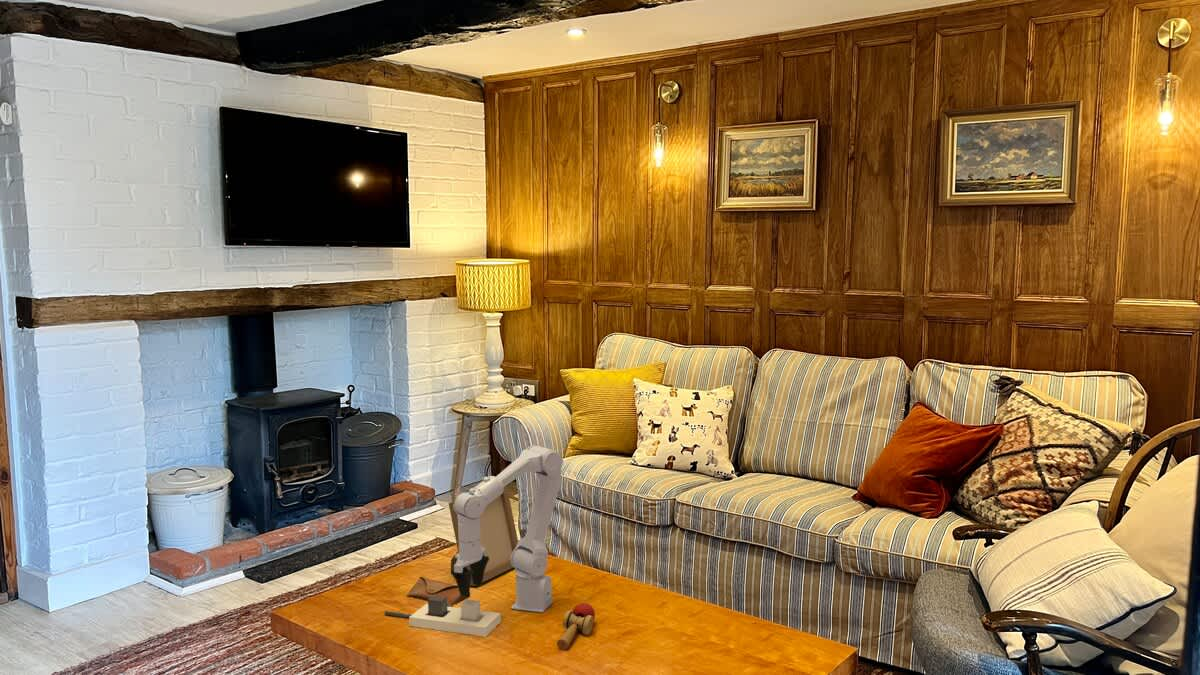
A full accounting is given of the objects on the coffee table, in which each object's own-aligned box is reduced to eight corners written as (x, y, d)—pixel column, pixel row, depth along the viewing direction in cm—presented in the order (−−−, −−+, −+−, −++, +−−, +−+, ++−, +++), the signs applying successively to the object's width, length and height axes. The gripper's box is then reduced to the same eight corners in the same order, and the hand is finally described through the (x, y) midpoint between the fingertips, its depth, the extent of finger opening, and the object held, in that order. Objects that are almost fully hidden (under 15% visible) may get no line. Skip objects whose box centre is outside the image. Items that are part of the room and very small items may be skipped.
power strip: (500, 622, 232) (500, 598, 231) (485, 636, 223) (485, 612, 223) (394, 608, 242) (393, 585, 241) (376, 621, 233) (375, 597, 233)
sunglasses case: (401, 596, 250) (408, 572, 252) (415, 600, 256) (422, 577, 258) (452, 607, 242) (459, 583, 244) (466, 612, 247) (472, 588, 250)
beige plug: (480, 623, 230) (480, 601, 230) (475, 627, 227) (474, 605, 227) (466, 621, 231) (466, 599, 231) (461, 626, 229) (461, 603, 228)
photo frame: (522, 565, 273) (520, 487, 271) (476, 588, 255) (473, 504, 252) (486, 557, 281) (484, 480, 279) (438, 578, 263) (435, 497, 261)
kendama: (580, 657, 215) (603, 618, 231) (574, 634, 213) (598, 596, 230) (552, 658, 217) (576, 619, 234) (546, 635, 216) (571, 597, 233)
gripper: (468, 529, 237) (469, 578, 238) (442, 547, 223) (444, 598, 224) (492, 531, 235) (493, 580, 236) (467, 549, 221) (469, 601, 222)
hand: (471, 589), depth 230 cm, fingers open, 7 cm apart
